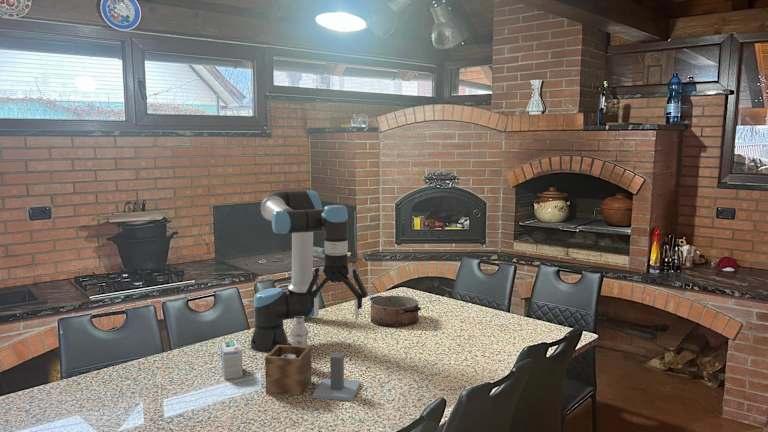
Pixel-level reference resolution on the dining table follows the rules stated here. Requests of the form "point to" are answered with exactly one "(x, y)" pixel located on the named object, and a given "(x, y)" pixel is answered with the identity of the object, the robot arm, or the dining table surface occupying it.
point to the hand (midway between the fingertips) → (336, 317)
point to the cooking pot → (394, 311)
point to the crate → (288, 370)
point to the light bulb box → (231, 360)
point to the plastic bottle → (299, 332)
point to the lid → (337, 382)
